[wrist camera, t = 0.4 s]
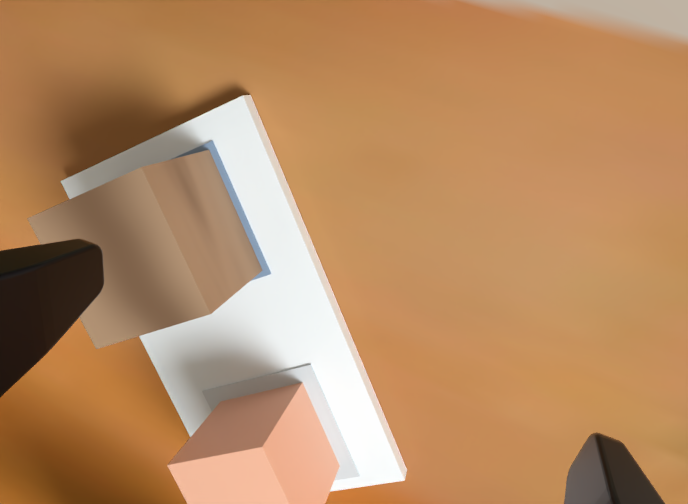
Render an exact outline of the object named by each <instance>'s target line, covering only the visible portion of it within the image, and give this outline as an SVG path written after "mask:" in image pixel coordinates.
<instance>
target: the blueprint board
mask: <svg viewBox="0 0 688 504" xmlns="http://www.w3.org/2000/svg"><path fill="white" fill-rule="evenodd" d="M206 150H210V153H211V155H212V157H213V159H214V162H215V164H216V166H217V168H218V171H219V173H220V175H221V177H222V180H223V182H224V184H225V186H226V189H227V191H228V193H229V195H230V198H231V200H232V202H233V205H234V207H235V209H236V211H237V214H238V216H239V218H240V220H241V223H242V225H243V227H244V229H245V232H246V234H247V236H248V238H249V241H250V243H251V245H252V247H253V250H254V252H255V254H256V256H257V259H258V261H259V263H260V265H261V268H262V270H263V271H261V272H260V273H259V274H258V275H257V276H255V277H254V278H253V279H252V280H251V281H250V282H248V283H247V284H246V285H245V286H244V287H242V288H241V289H240V290H239V291H238V292H236V293H235V294H234V295H233V296H232V297H231V298H229V299H228V300H227V301H226V302H225V303H223V304H222V305H221V306H220V307H219V308H218V309H216V310H215V311H214V312H213V313H212V314H210V315H206V316H203V317H200V318H197V319H193V320H190V321H187V322H184V323H180V324H177V325H174V326H171V327H167V328H164V329H161V330H157V331H154V332H151V333H148V334H144V335H141V336H139V337H140V339H141V341H142V343H143V345H144V347H145V349H146V351H147V353H148V355H149V357H150V359H151V361H152V363H153V365H154V366H155V368H156V370H157V372H158V374H159V376H160V378H161V380H162V382H163V384H164V386H165V388H166V390H167V392H168V394H169V396H170V398H171V400H172V402H173V404H174V406H175V408H176V410H177V412H178V414H179V416H180V418H181V420H182V422H183V424H184V426H185V428H186V430H187V432H188V433H189V435H190V437H191V436H192V435H193V434H194V433H195V431H196V430H197V429H198V428H199V427H200V425H201V424H202V423H203V422H204V421H205V419H206V418H207V417H208V416H209V415H210V413H211V412H212V411H213V410H214V409H215V407H216V406H217V405H218V404H219V403H220V402H221V401H225V400H229V399H233V398H238V397H242V396H246V395H250V394H255V393H259V392H263V391H267V390H272V389H276V388H280V387H285V386H289V385H293V384H297V383H302V382H303V385H304V387H305V389H306V391H307V393H308V396H309V398H310V400H311V402H312V405H313V407H314V409H315V411H316V414H317V416H318V418H319V420H320V423H321V425H322V427H323V429H324V432H325V434H326V436H327V438H328V440H329V443H330V445H331V447H332V449H333V452H334V454H335V456H336V458H337V461H338V463H339V465H340V467H339V469H338V472H337V474H336V477H335V480H334V482H333V485H332V487H331V490H330V491H337V490H344V489H350V488H357V487H364V486H371V485H377V484H384V483H391V482H397V481H404V480H405V477H406V472H407V468H406V466H405V464H404V461H403V459H402V456H401V454H400V452H399V449H398V447H397V444H396V442H395V440H394V437H393V435H392V432H391V430H390V428H389V425H388V423H387V420H386V418H385V416H384V413H383V411H382V408H381V406H380V404H379V401H378V399H377V397H376V394H375V392H374V389H373V387H372V385H371V382H370V380H369V377H368V375H367V373H366V370H365V368H364V365H363V363H362V361H361V358H360V356H359V353H358V351H357V349H356V346H355V344H354V341H353V339H352V337H351V334H350V332H349V329H348V327H347V325H346V322H345V320H344V317H343V315H342V313H341V310H340V308H339V305H338V303H337V301H336V298H335V296H334V293H333V291H332V289H331V286H330V284H329V282H328V279H327V277H326V274H325V272H324V270H323V267H322V265H321V262H320V260H319V258H318V255H317V253H316V250H315V248H314V246H313V243H312V241H311V238H310V236H309V234H308V231H307V229H306V226H305V224H304V222H303V219H302V217H301V214H300V212H299V210H298V207H297V205H296V202H295V200H294V198H293V195H292V193H291V190H290V188H289V186H288V183H287V181H286V179H285V176H284V174H283V171H282V169H281V167H280V164H279V162H278V159H277V157H276V155H275V152H274V150H273V147H272V145H271V143H270V140H269V138H268V135H267V133H266V131H265V128H264V126H263V123H262V121H261V119H260V116H259V114H258V111H257V109H256V107H255V104H254V102H253V99H252V97H251V95H243V96H240V97H238V98H236V99H234V100H232V101H230V102H228V103H226V104H223V105H221V106H219V107H217V108H215V109H213V110H211V111H209V112H206V113H204V114H202V115H200V116H198V117H196V118H194V119H192V120H190V121H187V122H185V123H183V124H181V125H179V126H177V127H175V128H173V129H170V130H168V131H166V132H164V133H162V134H160V135H158V136H156V137H153V138H151V139H149V140H147V141H145V142H143V143H141V144H139V145H136V146H134V147H132V148H130V149H128V150H126V151H124V152H122V153H119V154H117V155H115V156H113V157H111V158H109V159H107V160H105V161H102V162H100V163H98V164H96V165H94V166H92V167H90V168H88V169H86V170H83V171H81V172H79V173H77V174H75V175H73V176H71V177H69V178H66V179H64V180H62V181H61V183H62V185H63V187H64V189H65V191H66V193H67V195H68V197H69V199H72V198H74V197H76V196H78V195H81V194H83V193H85V192H87V191H89V190H92V189H94V188H96V187H98V186H100V185H103V184H105V183H107V182H109V181H112V180H114V179H116V178H118V177H120V176H123V175H125V174H127V173H129V172H132V171H134V170H136V169H138V168H140V167H144V166H148V165H151V164H155V163H159V162H163V161H167V160H171V159H175V158H179V157H183V156H186V155H190V154H194V153H198V152H202V151H206Z"/></svg>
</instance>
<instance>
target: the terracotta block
mask: <svg viewBox="0 0 688 504" xmlns="http://www.w3.org/2000/svg"><path fill="white" fill-rule="evenodd" d="M167 466H168V468H169V469H170V471H171V473H172V475H173V477H174V479H175V481H176V483H177V485H178V487H179V489H180V490H181V492H182V494H183V496H184V498H185V500H186V502H187V504H325V503H326V500H327V497H328V495H329V492H330V490H331V487H332V485H333V482H334V480H335V477H336V474H337V472H338V469H339V467H340V465H339V463H338V461H337V458H336V456H335V454H334V452H333V449H332V447H331V445H330V443H329V440H328V438H327V436H326V434H325V432H324V429H323V427H322V425H321V423H320V420H319V418H318V416H317V414H316V411H315V409H314V407H313V405H312V402H311V400H310V398H309V396H308V393H307V391H306V389H305V387H304V385H303V382H302V383H297V384H293V385H289V386H285V387H280V388H276V389H272V390H267V391H263V392H259V393H255V394H250V395H246V396H242V397H238V398H233V399H229V400H225V401H221V402H220V403H219V404H218V405H217V406H216V407H215V409H214V410H213V411H212V412H211V413H210V415H209V416H208V417H207V418H206V419H205V421H204V422H203V423H202V424H201V425H200V427H199V428H198V429H197V430H196V431H195V433H194V434H193V435H192V436H191V437H190V439H189V440H188V441H187V442H186V443H185V445H184V446H183V447H182V448H181V449H180V451H179V452H178V453H177V454H176V455H175V456H174V458H173V459H172V460H171V461H170V462H169V464H168V465H167Z"/></svg>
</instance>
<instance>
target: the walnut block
mask: <svg viewBox="0 0 688 504" xmlns="http://www.w3.org/2000/svg"><path fill="white" fill-rule="evenodd" d="M27 219H28V221H29V223H30V225H31V227H32V228H33V230H34V232H35V234H36V236H37V238H38V240H39V242H40V244H47V243H53V242H60V241H66V240H72V239H84V240H86V241H89V242H92V243H94V244H97V245H98V246H100V247H101V249H102V252H103V266H104V286H103V289H102V291H101V292H100V294H99V295H98V296H97V297H96V299H95V300H94V301H93V302H92V303H91V304H90V305H89V307H88V308H87V309H86V310H85V311H84V312H83V313H82V315H81V316H80V319H81V321H82V323H83V325H84V327H85V329H86V331H87V333H88V334H89V336H90V338H91V340H92V342H93V344H94V346H95V348H96V349H99V348H102V347H105V346H109V345H112V344H115V343H118V342H122V341H125V340H128V339H131V338H135V337H138V336H141V335H144V334H148V333H151V332H154V331H157V330H161V329H164V328H167V327H171V326H174V325H177V324H180V323H184V322H187V321H190V320H193V319H197V318H200V317H203V316H206V315H210V314H212V313H213V312H214V311H215V310H216V309H218V308H219V307H220V306H221V305H222V304H223V303H225V302H226V301H227V300H228V299H229V298H231V297H232V296H233V295H234V294H235V293H236V292H238V291H239V290H240V289H241V288H242V287H244V286H245V285H246V284H247V283H248V282H250V281H251V280H252V279H253V278H254V277H255V276H257V275H258V274H259V273H260V272H261V271H263V270H262V268H261V265H260V263H259V261H258V259H257V256H256V254H255V252H254V250H253V247H252V245H251V243H250V241H249V238H248V236H247V234H246V232H245V229H244V227H243V225H242V223H241V220H240V218H239V216H238V214H237V211H236V209H235V207H234V205H233V202H232V200H231V198H230V195H229V193H228V191H227V189H226V186H225V184H224V182H223V180H222V177H221V175H220V173H219V171H218V168H217V166H216V164H215V162H214V159H213V157H212V155H211V153H210V150H206V151H202V152H198V153H194V154H190V155H186V156H183V157H179V158H175V159H171V160H167V161H163V162H159V163H155V164H151V165H148V166H144V167H140V168H138V169H136V170H134V171H132V172H129V173H127V174H125V175H123V176H120V177H118V178H116V179H114V180H112V181H109V182H107V183H105V184H103V185H100V186H98V187H96V188H94V189H92V190H89V191H87V192H85V193H83V194H81V195H78V196H76V197H74V198H72V199H69V200H67V201H65V202H63V203H61V204H58V205H56V206H54V207H52V208H49V209H47V210H45V211H43V212H41V213H38V214H36V215H34V216H32V217H29V218H27Z"/></svg>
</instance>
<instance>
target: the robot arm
mask: <svg viewBox="0 0 688 504" xmlns="http://www.w3.org/2000/svg"><path fill="white" fill-rule="evenodd" d="M103 286H104V266H103V252H102V249H101V247H100V246H98V245H97V244H94V243H92V242H89V241H86V240H84V239H72V240H66V241H60V242H53V243H47V244H41V245H34V246H28V247H22V248H15V249H9V250H3V251H0V397H1V396H2V395H3V394H4V393H5V392H6V391H7V390H9V389H10V388H11V387H12V386H13V385H14V384H15V383H16V382H17V381H18V380H19V379H20V378H21V377H22V376H24V375H25V374H26V373H27V372H28V371H29V370H30V369H31V368H32V367H33V366H34V365H35V364H36V363H37V362H38V361H39V360H40V359H42V358H43V357H44V356H45V355H46V354H47V353H48V352H49V350H50V349H51V348H52V347H53V346H54V345H55V344H56V343H57V342H58V341H59V339H60V338H61V337H62V336H63V335H64V334H65V333H66V332H67V330H68V329H69V328H70V327H71V326H72V325H73V324H74V322H75V321H76V320H77V319H78V318H79V317H80V316H81V315H82V313H83V312H84V311H85V310H86V309H87V308H88V307H89V305H90V304H91V303H92V302H93V301H94V300H95V299H96V297H97V296H98V295H99V294H100V292H101V291H102V289H103ZM564 504H665V503H664V501H663V500H662V499H661V497H660V496H659V494H658V493H657V491H656V490H655V488H654V487H653V486H652V484H651V483H650V481H649V480H648V478H647V477H646V475H645V474H644V473H643V471H642V470H641V468H640V467H639V465H638V464H637V462H636V461H635V460H634V458H633V457H632V455H631V454H630V452H629V451H628V449H627V448H626V447H625V445H624V444H623V443H622V442H620V441H619V440H616V439H614V438H611V437H608V436H606V435H603V434H600V433H593V434H591V435H590V436H589V438H588V439H587V441H586V442H585V444H584V445H583V447H582V449H581V450H580V452H579V453H578V455H577V457H576V458H575V460H574V462H573V463H572V465H571V467H570V469H569V473H568V476H567V483H566V491H565V500H564Z"/></svg>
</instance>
